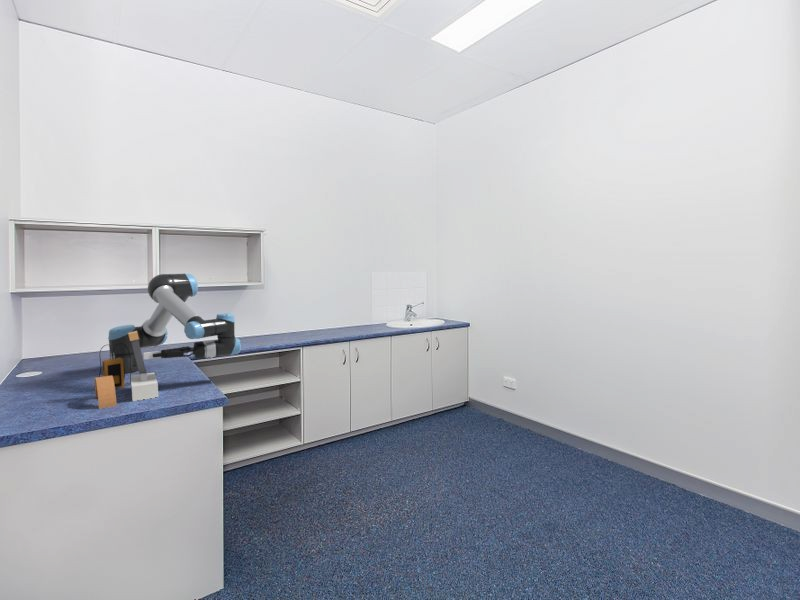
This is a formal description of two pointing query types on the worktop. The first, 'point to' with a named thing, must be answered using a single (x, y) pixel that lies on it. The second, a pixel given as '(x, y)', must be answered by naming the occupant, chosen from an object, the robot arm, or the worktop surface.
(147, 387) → the white rectangular slab
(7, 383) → the worktop surface
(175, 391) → the worktop surface
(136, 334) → the lever
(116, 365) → the multimeter
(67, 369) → the worktop surface
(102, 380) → the arch
